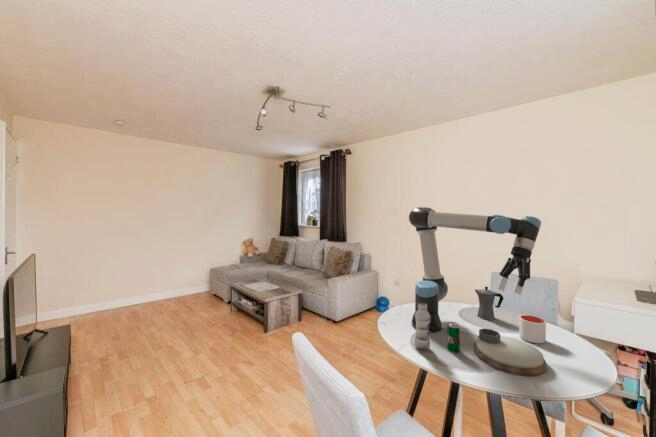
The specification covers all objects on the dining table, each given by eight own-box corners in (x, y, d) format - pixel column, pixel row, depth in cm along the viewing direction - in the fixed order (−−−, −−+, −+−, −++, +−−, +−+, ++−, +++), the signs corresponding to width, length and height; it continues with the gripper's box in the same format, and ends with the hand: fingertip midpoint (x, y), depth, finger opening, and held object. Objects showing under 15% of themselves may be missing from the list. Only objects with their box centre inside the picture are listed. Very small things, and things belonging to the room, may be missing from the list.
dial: (555, 359, 105) (555, 346, 105) (522, 375, 95) (522, 360, 95) (493, 334, 127) (493, 323, 127) (461, 344, 117) (461, 332, 117)
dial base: (471, 362, 107) (471, 356, 107) (476, 338, 128) (476, 333, 128) (550, 384, 93) (550, 378, 93) (542, 353, 114) (542, 348, 114)
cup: (550, 345, 121) (550, 324, 120) (525, 343, 123) (526, 322, 123) (537, 335, 130) (538, 315, 130) (515, 333, 133) (515, 314, 132)
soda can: (445, 347, 119) (445, 321, 119) (455, 347, 119) (455, 320, 119) (451, 353, 114) (451, 326, 114) (462, 352, 114) (462, 325, 114)
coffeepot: (470, 315, 156) (470, 285, 156) (477, 311, 162) (478, 282, 162) (499, 324, 144) (500, 291, 144) (506, 320, 150) (506, 288, 149)
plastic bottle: (418, 343, 123) (418, 300, 123) (432, 348, 118) (433, 304, 118) (411, 348, 119) (412, 304, 118) (426, 353, 114) (426, 308, 113)
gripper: (549, 250, 110) (534, 298, 107) (515, 252, 134) (502, 292, 132) (530, 243, 111) (515, 291, 109) (500, 247, 135) (487, 285, 133)
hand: (508, 291), depth 120 cm, fingers open, 13 cm apart
